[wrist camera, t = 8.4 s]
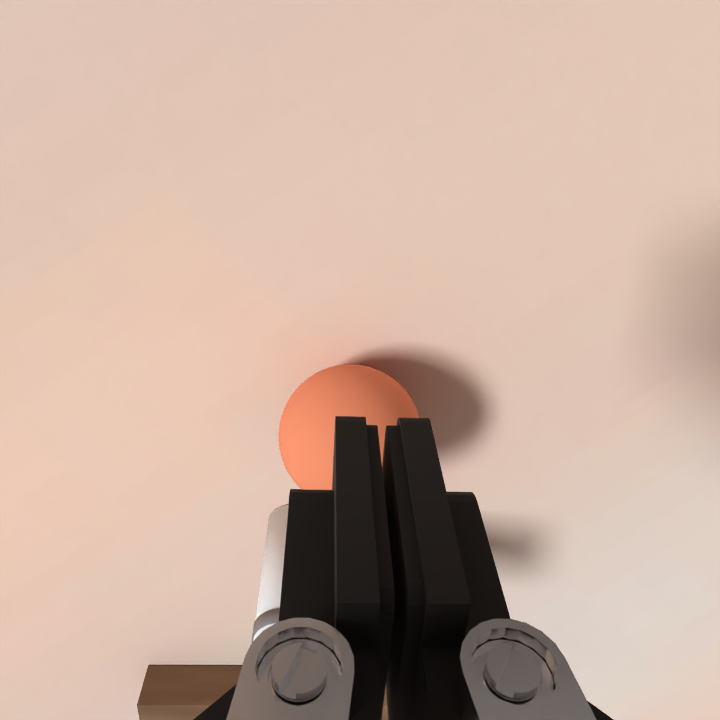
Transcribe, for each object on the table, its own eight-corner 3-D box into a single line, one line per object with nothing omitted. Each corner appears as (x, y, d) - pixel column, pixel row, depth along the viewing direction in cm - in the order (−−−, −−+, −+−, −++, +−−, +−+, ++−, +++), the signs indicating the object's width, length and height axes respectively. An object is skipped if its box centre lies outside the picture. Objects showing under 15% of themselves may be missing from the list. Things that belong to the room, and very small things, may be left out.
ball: (277, 540, 26) (282, 435, 31) (422, 537, 27) (405, 435, 31) (273, 436, 22) (279, 335, 27) (442, 435, 23) (419, 336, 28)
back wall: (148, 665, 38) (137, 705, 36) (511, 666, 39) (521, 705, 37) (151, 686, 39) (140, 726, 37) (506, 687, 40) (516, 726, 38)
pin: (267, 503, 32) (247, 648, 25) (316, 504, 33) (311, 648, 25) (268, 539, 34) (249, 688, 26) (315, 540, 34) (310, 688, 26)
